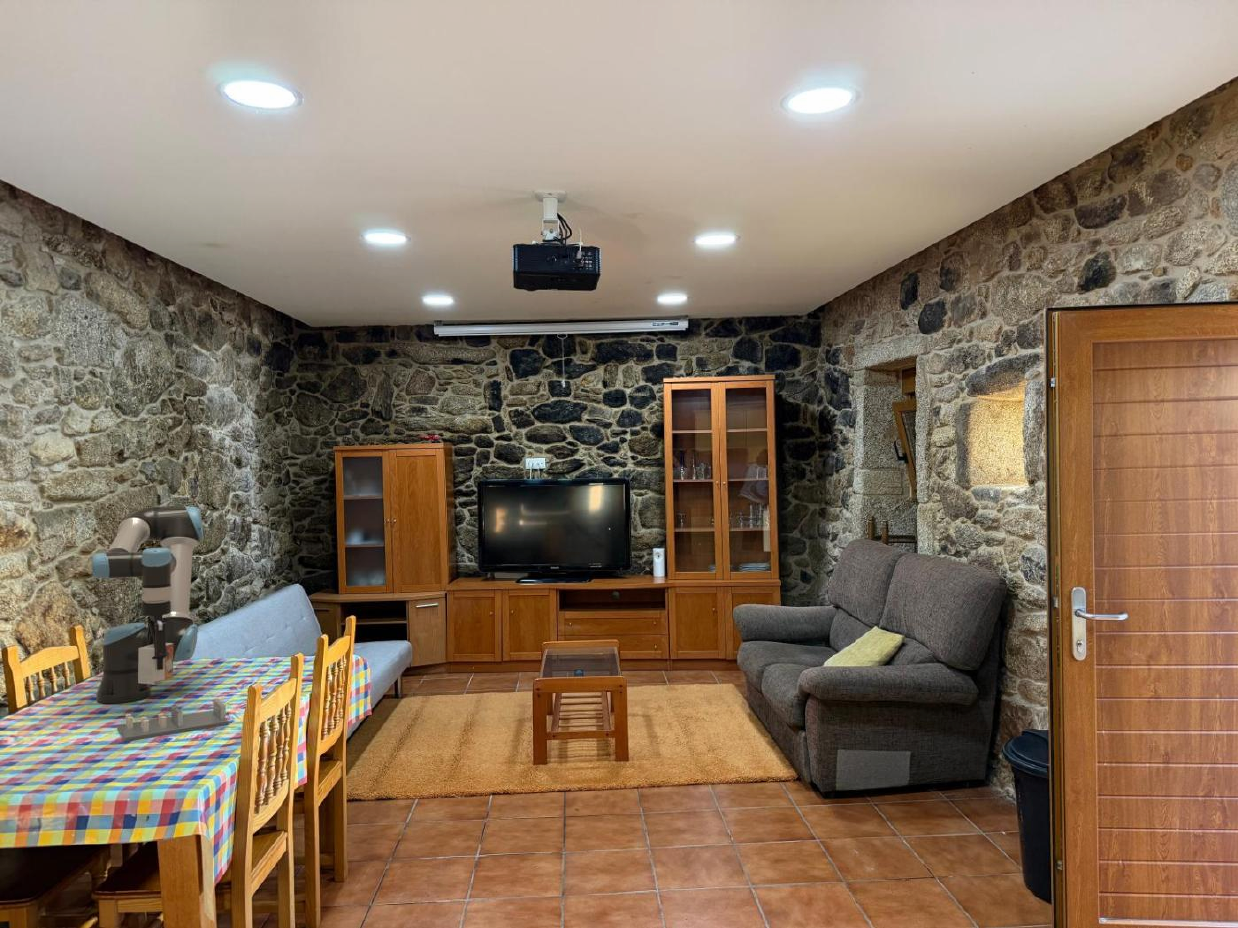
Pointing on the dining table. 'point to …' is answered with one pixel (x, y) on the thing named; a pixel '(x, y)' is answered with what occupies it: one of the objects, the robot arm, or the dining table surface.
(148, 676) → the small box
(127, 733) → the board
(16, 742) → the dining table surface
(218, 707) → the end holder
